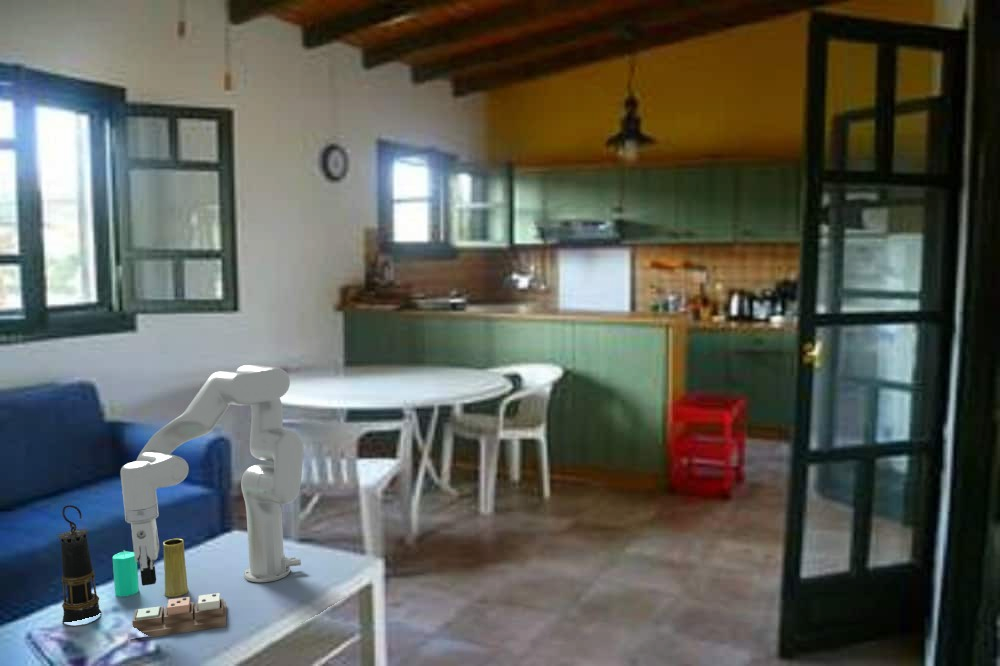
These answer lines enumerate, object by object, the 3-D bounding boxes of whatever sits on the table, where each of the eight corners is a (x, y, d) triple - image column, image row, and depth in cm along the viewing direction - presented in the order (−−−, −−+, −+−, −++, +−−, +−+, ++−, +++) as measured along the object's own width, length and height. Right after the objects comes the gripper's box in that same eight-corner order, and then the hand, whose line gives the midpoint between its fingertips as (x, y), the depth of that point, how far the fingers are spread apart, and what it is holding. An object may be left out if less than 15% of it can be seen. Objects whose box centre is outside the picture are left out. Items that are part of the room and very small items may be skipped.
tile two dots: (220, 601, 225) (219, 592, 225) (219, 609, 220) (219, 599, 220) (199, 604, 224) (198, 594, 223) (198, 612, 219) (198, 602, 219)
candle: (130, 597, 237) (127, 554, 235) (110, 595, 238) (107, 552, 236) (143, 588, 242) (140, 546, 241) (124, 586, 244) (120, 545, 242)
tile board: (226, 606, 229) (225, 593, 229) (225, 626, 218) (224, 612, 217) (135, 619, 223) (134, 605, 223) (129, 639, 212) (128, 626, 211)
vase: (193, 589, 241) (190, 539, 239) (178, 598, 235) (174, 547, 233) (174, 586, 243) (171, 536, 241) (159, 595, 237) (156, 544, 235)
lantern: (83, 608, 230) (74, 496, 226) (110, 613, 227) (101, 500, 223) (54, 623, 222) (44, 507, 218) (81, 628, 218) (71, 511, 215)
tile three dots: (190, 605, 223) (189, 596, 223) (189, 614, 218) (188, 603, 218) (169, 608, 222) (168, 598, 221) (167, 616, 217) (167, 606, 217)
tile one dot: (160, 615, 221) (159, 605, 221) (158, 624, 217) (157, 613, 216) (138, 618, 220) (138, 608, 220) (136, 626, 215) (136, 616, 215)
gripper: (155, 520, 209) (163, 593, 212) (160, 500, 223) (167, 569, 226) (121, 525, 207) (129, 598, 210) (128, 504, 221) (136, 574, 224)
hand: (149, 583), depth 218 cm, fingers closed
